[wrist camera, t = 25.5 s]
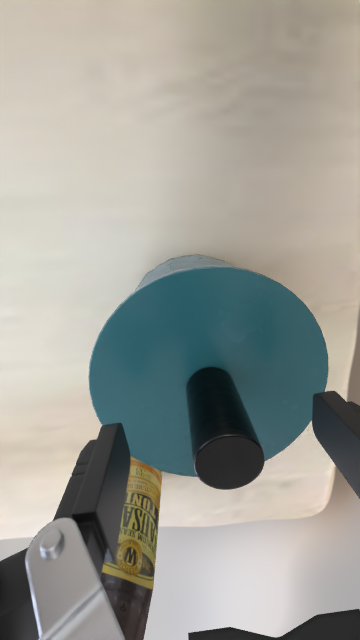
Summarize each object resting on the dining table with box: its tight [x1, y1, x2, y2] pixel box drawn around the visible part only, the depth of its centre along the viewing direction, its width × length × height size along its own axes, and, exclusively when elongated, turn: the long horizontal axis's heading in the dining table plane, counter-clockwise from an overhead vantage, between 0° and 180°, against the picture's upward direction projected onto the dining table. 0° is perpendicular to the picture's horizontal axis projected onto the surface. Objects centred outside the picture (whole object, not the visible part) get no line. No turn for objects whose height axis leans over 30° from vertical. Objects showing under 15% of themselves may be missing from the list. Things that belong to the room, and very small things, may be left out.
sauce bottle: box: [100, 455, 162, 640], centre depth 20 cm, size 7×6×20 cm
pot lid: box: [89, 265, 328, 490], centre depth 12 cm, size 13×13×6 cm
